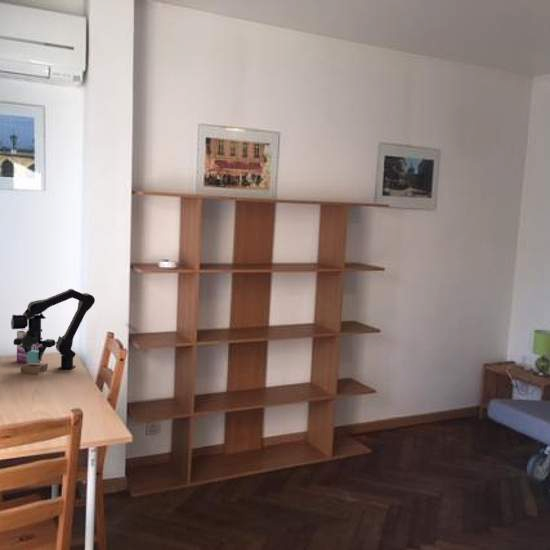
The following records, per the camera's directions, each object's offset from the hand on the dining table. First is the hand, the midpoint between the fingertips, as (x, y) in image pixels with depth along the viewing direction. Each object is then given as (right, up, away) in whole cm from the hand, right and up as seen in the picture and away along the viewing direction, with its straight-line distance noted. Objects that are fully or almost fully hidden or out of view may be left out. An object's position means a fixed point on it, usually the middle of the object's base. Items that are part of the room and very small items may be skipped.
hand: (34, 359), depth 292 cm
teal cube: (0, -1, 0) cm, 1 cm away
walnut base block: (0, -6, +1) cm, 6 cm away
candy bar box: (-10, -4, +17) cm, 20 cm away
